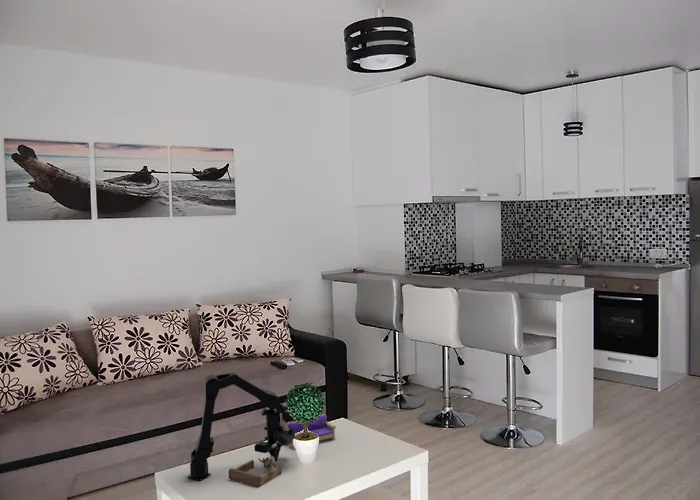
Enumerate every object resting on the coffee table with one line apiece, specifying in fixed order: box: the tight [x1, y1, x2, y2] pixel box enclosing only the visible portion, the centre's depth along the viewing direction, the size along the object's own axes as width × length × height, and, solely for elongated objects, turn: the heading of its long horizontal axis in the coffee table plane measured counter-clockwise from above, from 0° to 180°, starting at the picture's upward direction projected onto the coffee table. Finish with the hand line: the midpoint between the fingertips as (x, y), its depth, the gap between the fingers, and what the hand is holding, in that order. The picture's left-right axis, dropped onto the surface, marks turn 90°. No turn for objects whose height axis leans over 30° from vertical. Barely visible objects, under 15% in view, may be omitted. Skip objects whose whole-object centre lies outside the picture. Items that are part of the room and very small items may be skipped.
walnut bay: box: [228, 459, 282, 488], centre depth 240 cm, size 14×15×4 cm
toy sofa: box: [286, 413, 336, 449], centre depth 275 cm, size 21×9×10 cm, turn 120°
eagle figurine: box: [257, 455, 277, 474], centre depth 244 cm, size 8×7×9 cm
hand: (275, 461), depth 251 cm, fingers closed
